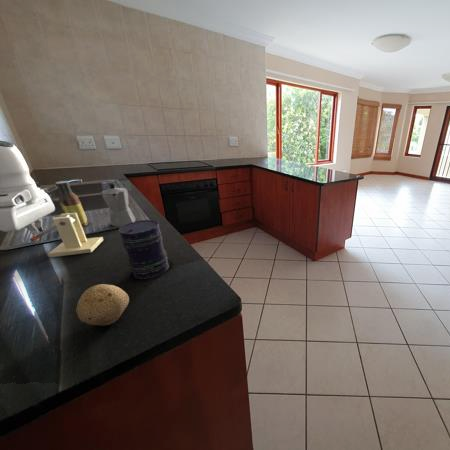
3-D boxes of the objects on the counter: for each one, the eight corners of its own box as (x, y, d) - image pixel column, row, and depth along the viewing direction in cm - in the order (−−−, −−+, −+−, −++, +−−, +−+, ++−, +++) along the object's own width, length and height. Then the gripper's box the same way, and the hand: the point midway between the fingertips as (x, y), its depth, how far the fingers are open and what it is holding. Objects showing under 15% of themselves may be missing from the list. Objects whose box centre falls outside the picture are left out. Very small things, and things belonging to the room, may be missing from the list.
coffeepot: (137, 225, 106) (125, 185, 99) (111, 230, 101) (97, 189, 94) (135, 214, 118) (124, 179, 110) (111, 218, 113) (99, 181, 105)
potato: (73, 339, 50) (54, 302, 46) (101, 309, 59) (87, 275, 55) (118, 336, 51) (103, 300, 47) (140, 307, 59) (129, 274, 55)
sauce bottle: (74, 224, 106) (56, 180, 99) (91, 222, 108) (75, 179, 101) (67, 229, 101) (47, 184, 93) (85, 227, 103) (67, 182, 95)
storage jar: (151, 259, 80) (140, 218, 74) (176, 263, 78) (166, 221, 72) (124, 276, 71) (109, 231, 65) (151, 281, 69) (138, 235, 63)
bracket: (49, 257, 80) (32, 222, 75) (66, 244, 89) (52, 212, 84) (91, 252, 84) (78, 219, 79) (103, 240, 92) (92, 209, 87)
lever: (34, 243, 80) (27, 238, 79) (43, 237, 84) (37, 232, 83) (69, 223, 81) (63, 218, 79) (77, 218, 85) (71, 213, 84)
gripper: (29, 186, 84) (46, 222, 89) (-22, 204, 66) (2, 247, 71) (51, 185, 85) (66, 220, 91) (7, 202, 68) (29, 244, 73)
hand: (38, 232), depth 81 cm, fingers closed, pressing on lever
